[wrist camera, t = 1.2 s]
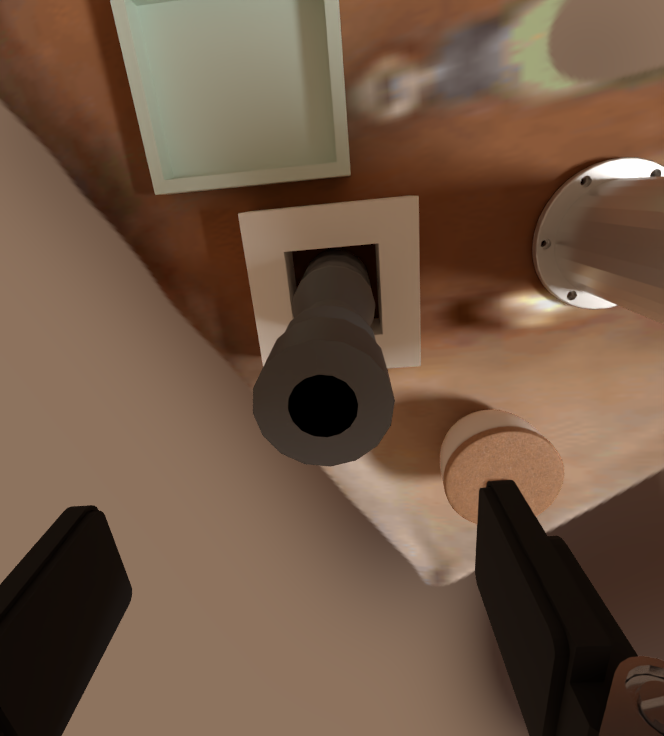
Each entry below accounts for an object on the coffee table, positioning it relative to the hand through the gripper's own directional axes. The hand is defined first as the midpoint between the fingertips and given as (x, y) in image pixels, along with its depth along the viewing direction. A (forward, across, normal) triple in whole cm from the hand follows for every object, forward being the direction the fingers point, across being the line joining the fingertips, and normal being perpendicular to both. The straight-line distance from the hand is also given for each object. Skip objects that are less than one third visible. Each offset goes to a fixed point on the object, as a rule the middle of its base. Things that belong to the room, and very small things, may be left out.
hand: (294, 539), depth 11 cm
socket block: (+32, -1, 0) cm, 32 cm away
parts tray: (+32, +5, -16) cm, 36 cm away
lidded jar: (+32, -15, +18) cm, 40 cm away
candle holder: (+32, -1, 0) cm, 32 cm away
